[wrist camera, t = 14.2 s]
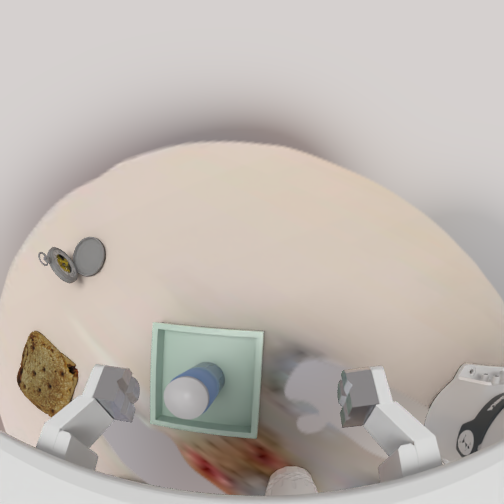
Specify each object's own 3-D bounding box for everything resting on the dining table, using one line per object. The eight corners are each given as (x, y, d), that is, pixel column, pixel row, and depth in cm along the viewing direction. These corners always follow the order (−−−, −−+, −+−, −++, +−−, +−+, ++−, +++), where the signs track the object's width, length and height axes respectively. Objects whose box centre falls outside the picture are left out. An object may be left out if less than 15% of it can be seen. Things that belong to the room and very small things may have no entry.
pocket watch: (112, 245, 46) (78, 227, 36) (94, 292, 44) (57, 284, 34) (78, 231, 47) (44, 212, 37) (62, 275, 45) (25, 264, 35)
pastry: (95, 415, 40) (86, 419, 37) (36, 423, 39) (27, 426, 36) (65, 319, 44) (54, 319, 41) (11, 341, 43) (1, 340, 41)
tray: (264, 330, 41) (263, 331, 38) (257, 430, 38) (256, 438, 34) (161, 322, 42) (152, 322, 39) (158, 417, 39) (150, 423, 36)
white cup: (259, 467, 36) (255, 500, 27) (311, 457, 36) (320, 489, 26) (269, 503, 34) (267, 539, 25) (318, 494, 34) (327, 528, 25)
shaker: (225, 363, 40) (209, 379, 28) (224, 396, 38) (208, 423, 27) (190, 360, 40) (161, 373, 28) (189, 393, 39) (162, 417, 27)
